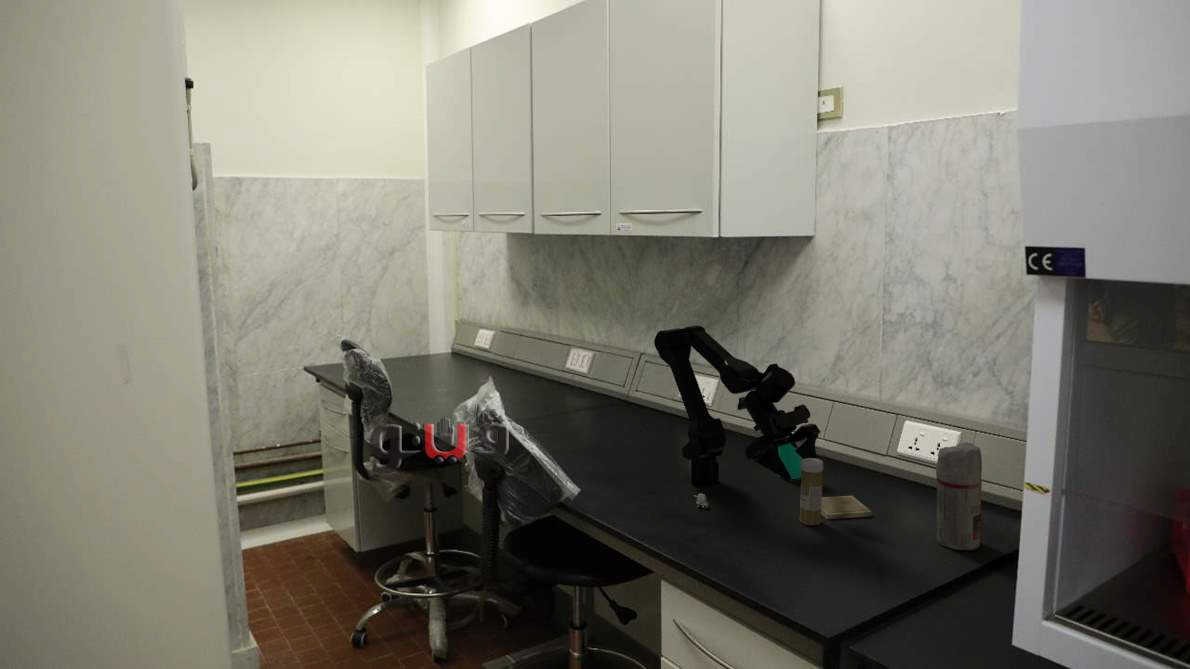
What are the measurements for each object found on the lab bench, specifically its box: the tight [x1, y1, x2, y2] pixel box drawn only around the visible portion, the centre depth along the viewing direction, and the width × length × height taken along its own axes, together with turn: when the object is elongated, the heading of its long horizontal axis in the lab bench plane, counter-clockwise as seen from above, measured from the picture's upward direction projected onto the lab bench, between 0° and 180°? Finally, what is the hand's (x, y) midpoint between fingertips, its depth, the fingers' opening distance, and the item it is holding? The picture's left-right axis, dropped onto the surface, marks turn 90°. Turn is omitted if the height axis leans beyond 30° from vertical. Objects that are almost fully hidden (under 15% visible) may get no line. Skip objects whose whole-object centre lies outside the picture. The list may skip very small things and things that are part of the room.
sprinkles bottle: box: [799, 458, 824, 526], centre depth 169 cm, size 5×5×13 cm
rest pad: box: [821, 495, 873, 520], centre depth 177 cm, size 10×10×1 cm
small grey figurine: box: [693, 493, 709, 509], centre depth 180 cm, size 3×3×3 cm
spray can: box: [935, 442, 983, 551], centre depth 156 cm, size 8×8×20 cm
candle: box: [777, 432, 802, 480], centre depth 198 cm, size 6×6×12 cm
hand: (804, 475), depth 170 cm, fingers open, 9 cm apart
